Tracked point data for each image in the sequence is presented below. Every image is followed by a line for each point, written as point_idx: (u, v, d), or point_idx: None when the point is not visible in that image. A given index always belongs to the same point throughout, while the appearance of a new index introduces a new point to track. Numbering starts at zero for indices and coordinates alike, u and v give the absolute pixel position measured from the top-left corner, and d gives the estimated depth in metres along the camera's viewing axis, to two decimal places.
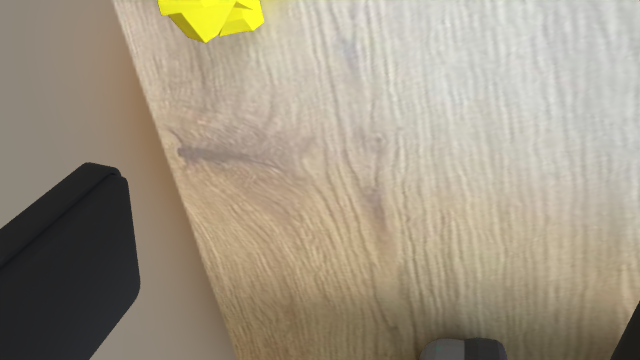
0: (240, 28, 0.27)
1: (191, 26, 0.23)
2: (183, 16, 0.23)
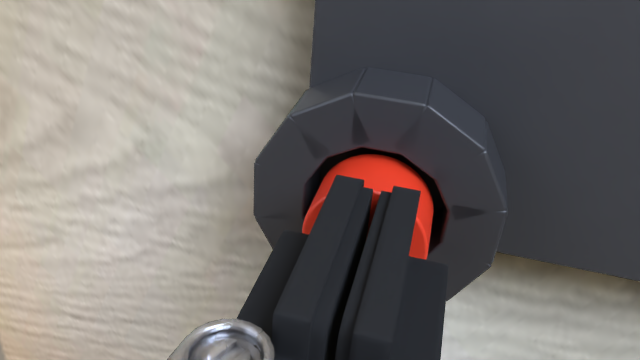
0: None
1: None
2: None
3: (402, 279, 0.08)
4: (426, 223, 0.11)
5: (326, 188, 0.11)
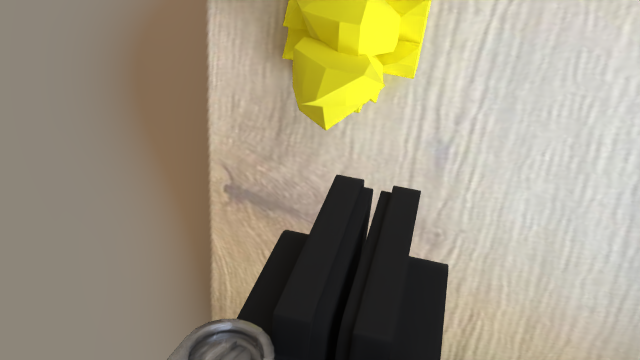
0: None
1: (322, 116, 0.22)
2: (321, 108, 0.22)
3: (402, 279, 0.08)
4: None
5: None
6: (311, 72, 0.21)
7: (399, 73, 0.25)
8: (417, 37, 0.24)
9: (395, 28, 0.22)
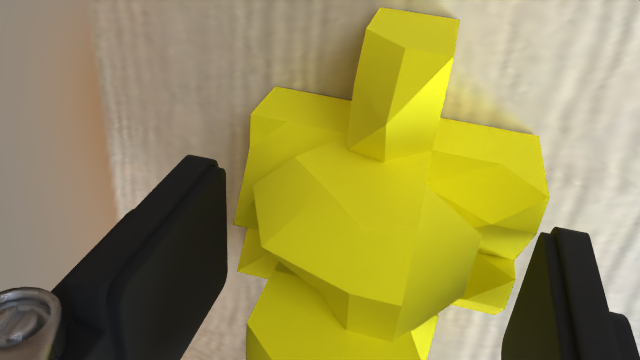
0: None
1: None
2: None
3: (616, 343, 0.07)
4: None
5: None
6: None
7: (467, 307, 0.12)
8: (509, 253, 0.11)
9: (471, 260, 0.10)
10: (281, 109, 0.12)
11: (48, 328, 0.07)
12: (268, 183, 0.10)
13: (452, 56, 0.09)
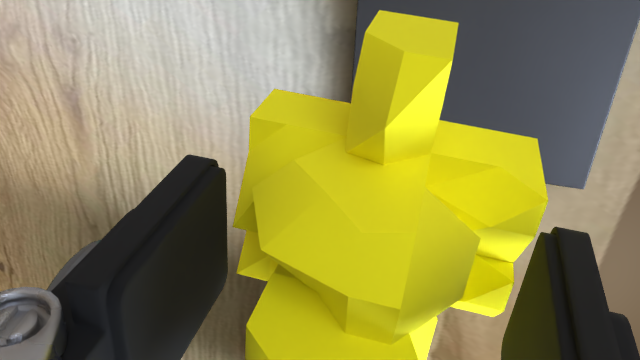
0: None
1: None
2: None
3: (615, 343, 0.07)
4: None
5: None
6: None
7: (466, 309, 0.13)
8: (508, 256, 0.11)
9: (470, 262, 0.10)
10: (280, 112, 0.12)
11: (48, 328, 0.07)
12: (268, 186, 0.10)
13: (451, 59, 0.09)
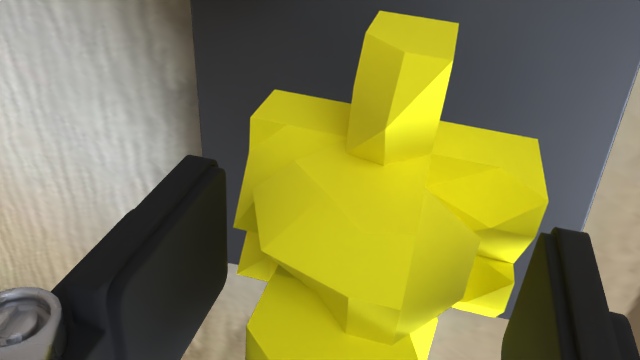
0: None
1: None
2: None
3: (616, 343, 0.07)
4: None
5: None
6: None
7: (466, 310, 0.12)
8: (508, 256, 0.11)
9: (470, 263, 0.10)
10: (280, 112, 0.12)
11: (48, 328, 0.07)
12: (268, 187, 0.10)
13: (451, 60, 0.09)
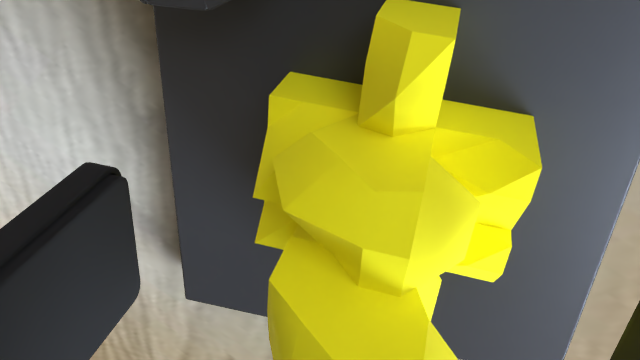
0: None
1: None
2: None
3: None
4: None
5: None
6: (302, 359, 0.10)
7: (467, 274, 0.14)
8: (506, 222, 0.12)
9: (471, 225, 0.11)
10: (296, 92, 0.13)
11: None
12: (287, 156, 0.11)
13: (454, 38, 0.10)
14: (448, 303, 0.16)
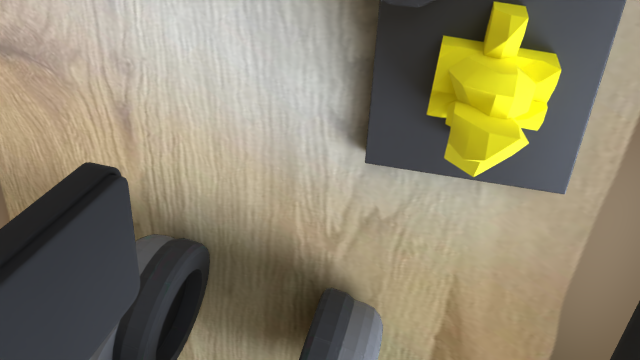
0: None
1: (475, 168, 0.27)
2: (478, 162, 0.27)
3: None
4: None
5: None
6: (474, 135, 0.26)
7: (526, 126, 0.30)
8: (545, 98, 0.29)
9: (532, 94, 0.28)
10: (451, 43, 0.29)
11: None
12: (456, 67, 0.28)
13: (528, 18, 0.27)
14: None
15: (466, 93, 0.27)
